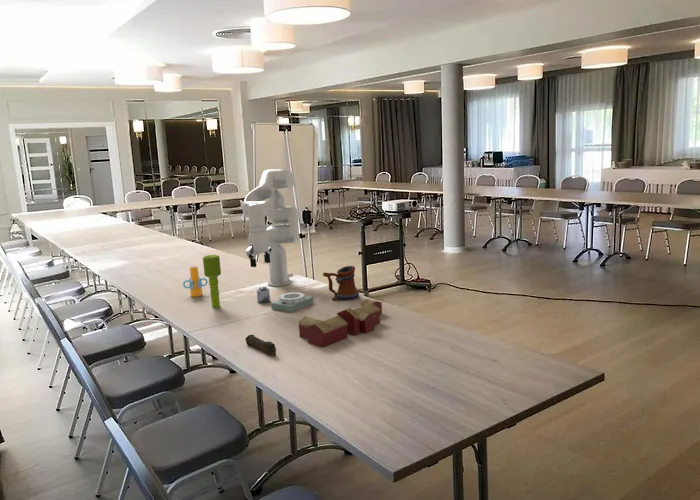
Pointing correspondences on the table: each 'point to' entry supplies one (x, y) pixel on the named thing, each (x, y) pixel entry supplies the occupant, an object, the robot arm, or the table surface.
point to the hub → (263, 295)
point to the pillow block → (291, 302)
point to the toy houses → (341, 324)
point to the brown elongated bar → (261, 345)
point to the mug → (343, 283)
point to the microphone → (213, 276)
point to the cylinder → (195, 282)
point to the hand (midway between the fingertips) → (260, 264)
